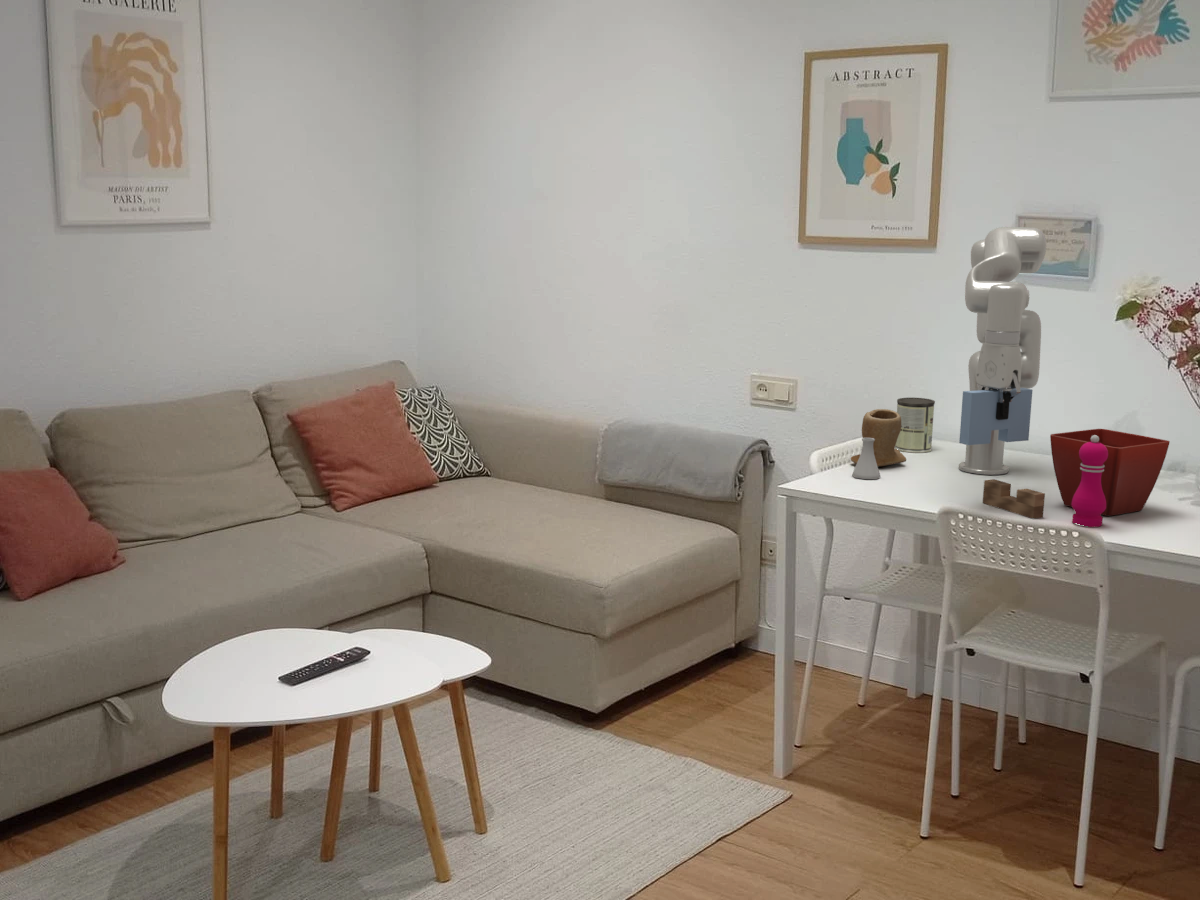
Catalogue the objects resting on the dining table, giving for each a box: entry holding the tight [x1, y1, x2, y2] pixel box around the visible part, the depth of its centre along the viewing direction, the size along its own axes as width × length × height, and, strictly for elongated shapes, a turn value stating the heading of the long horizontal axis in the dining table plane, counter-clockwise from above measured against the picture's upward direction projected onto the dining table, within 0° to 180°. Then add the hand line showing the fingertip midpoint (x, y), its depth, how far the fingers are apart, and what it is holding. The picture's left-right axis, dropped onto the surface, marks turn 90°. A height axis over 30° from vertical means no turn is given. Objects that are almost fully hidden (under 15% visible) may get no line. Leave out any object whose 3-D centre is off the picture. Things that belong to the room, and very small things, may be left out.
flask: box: [851, 437, 882, 480], centre depth 333 cm, size 7×7×10 cm
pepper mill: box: [1071, 435, 1108, 528], centre depth 288 cm, size 7×7×20 cm
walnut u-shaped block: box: [982, 478, 1046, 519], centre depth 301 cm, size 16×3×6 cm, turn 27°
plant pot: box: [1049, 428, 1170, 517], centre depth 303 cm, size 19×19×17 cm
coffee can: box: [894, 397, 936, 454], centre depth 369 cm, size 10×10×14 cm
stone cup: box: [850, 408, 907, 467], centre depth 347 cm, size 15×12×15 cm
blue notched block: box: [958, 388, 1033, 445], centre depth 303 cm, size 18×3×12 cm, turn 115°
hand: (996, 417), depth 303 cm, fingers closed on blue notched block, 3 cm apart
